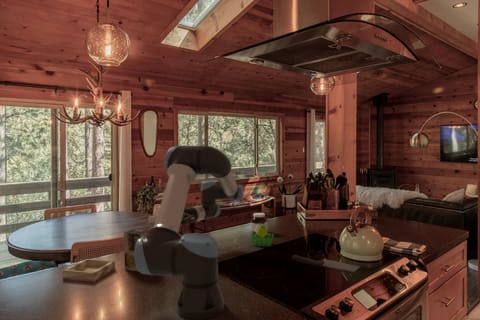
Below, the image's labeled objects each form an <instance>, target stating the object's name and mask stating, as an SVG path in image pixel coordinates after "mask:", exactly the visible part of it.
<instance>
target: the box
mask: <svg viewBox="0 0 480 320" xmlns="http://www.w3.org/2000/svg"><path fill="white" fill-rule="evenodd" d="M115 270H116V260H106V259H105V260H104V259H95V258H94V259H93V258H86V259H83V260H82V261H79V262H77V263H75V264H73V265H71V266H68V267H67V268H65V269H62V280H66V281H76V282H77V281H79V282H87V283H95V282H96V281H98V280H100V279H101V278H103V277H105V276H107V275H108V274H110V273H111V272H113V271H115Z"/></svg>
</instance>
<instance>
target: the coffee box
mask: <svg viewBox="0 0 480 320" xmlns="http://www.w3.org/2000/svg"><path fill="white" fill-rule="evenodd" d="M147 232H148V230H143V229H136V228H135V229H134V228H133V229H130V230H128V231H125V232H123V246H124V248H123V249H124V269H125V270H127V271H132V272H133V271H134V272H139V271H138V269H137V267H136V264H135V257H134V252H135V245H136V242H137V240H138V239H139V238H141V237H146V235H147ZM139 273H140V272H139Z"/></svg>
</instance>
